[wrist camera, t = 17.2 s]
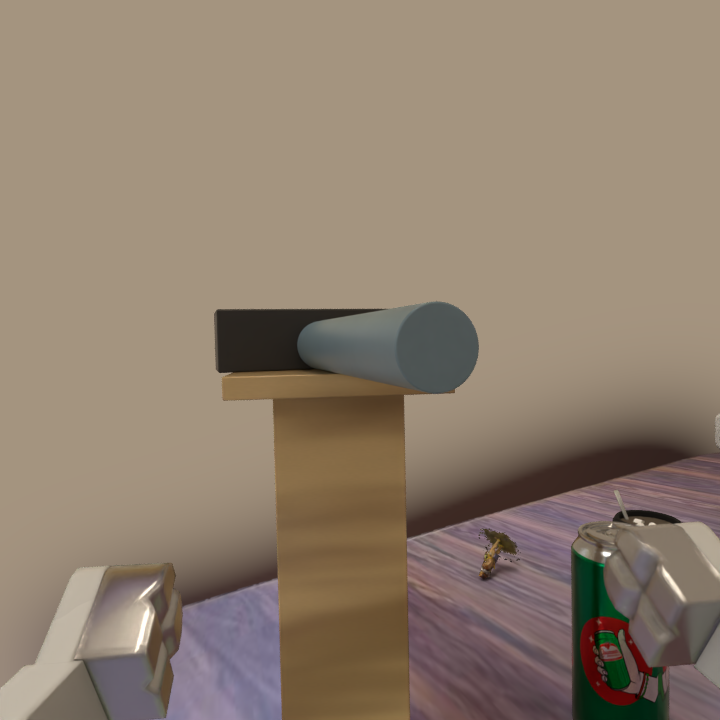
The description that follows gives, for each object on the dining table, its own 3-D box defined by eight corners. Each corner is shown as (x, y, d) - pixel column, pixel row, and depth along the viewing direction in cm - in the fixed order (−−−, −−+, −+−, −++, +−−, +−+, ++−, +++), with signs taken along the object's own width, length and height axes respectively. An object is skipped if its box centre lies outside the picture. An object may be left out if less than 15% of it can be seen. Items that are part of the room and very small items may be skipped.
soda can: (615, 698, 35) (614, 513, 34) (690, 753, 30) (690, 541, 29) (553, 721, 33) (552, 526, 32) (623, 783, 28) (622, 557, 28)
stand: (462, 855, 24) (454, 370, 24) (237, 882, 23) (221, 377, 23) (427, 741, 31) (421, 363, 30) (253, 757, 30) (241, 368, 29)
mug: (596, 569, 53) (596, 495, 53) (633, 555, 56) (633, 485, 56) (731, 623, 43) (732, 530, 43) (767, 601, 46) (768, 515, 46)
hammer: (598, 385, 15) (597, 280, 15) (243, 404, 13) (239, 275, 12) (393, 363, 31) (393, 311, 31) (215, 369, 28) (214, 312, 28)
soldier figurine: (490, 532, 54) (471, 568, 52) (501, 535, 54) (483, 572, 51) (495, 546, 55) (478, 582, 53) (507, 549, 54) (490, 586, 52)
